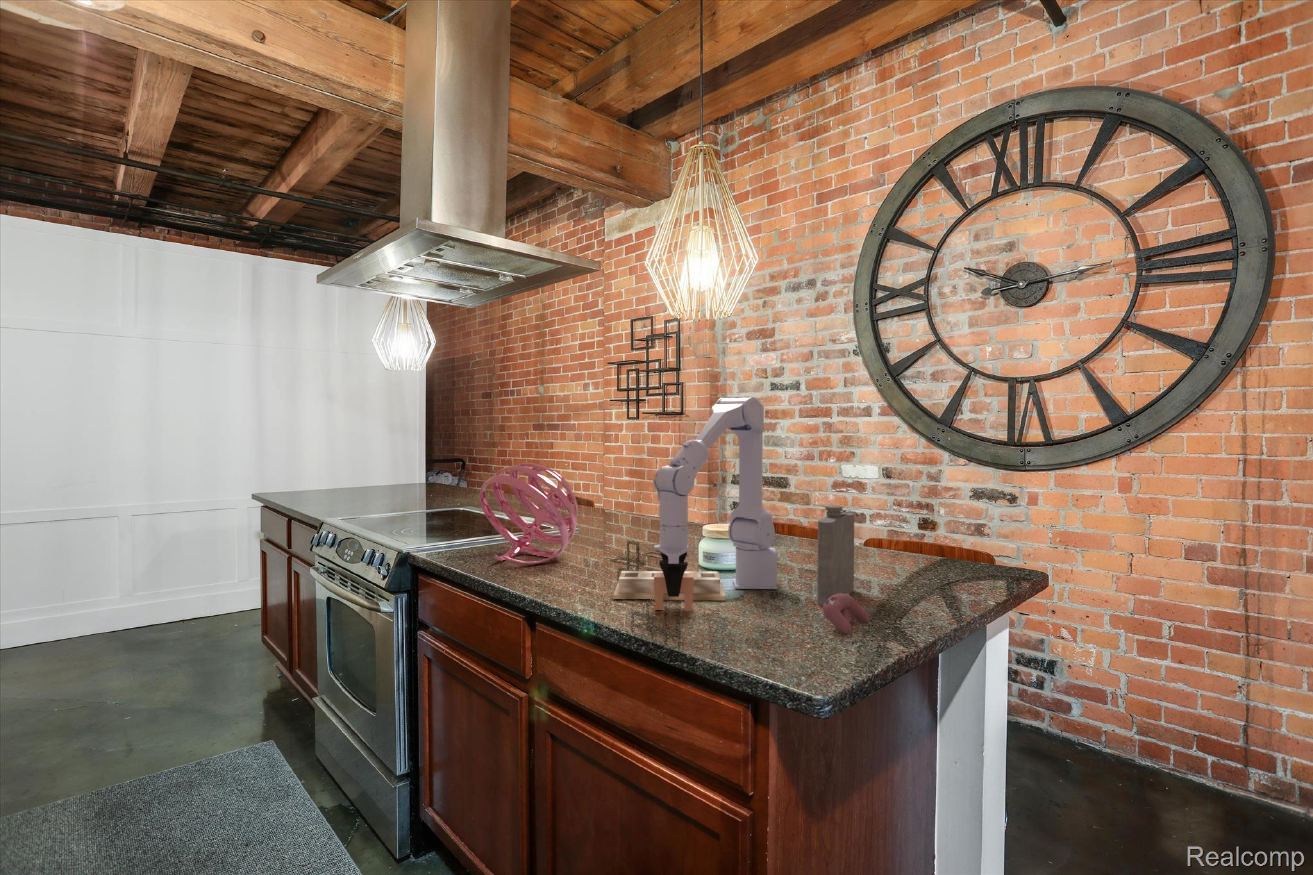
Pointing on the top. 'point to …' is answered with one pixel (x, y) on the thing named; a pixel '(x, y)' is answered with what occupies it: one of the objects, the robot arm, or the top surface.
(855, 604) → the video game controller
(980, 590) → the top surface
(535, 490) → the spiral basket
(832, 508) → the hip flask
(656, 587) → the clip
